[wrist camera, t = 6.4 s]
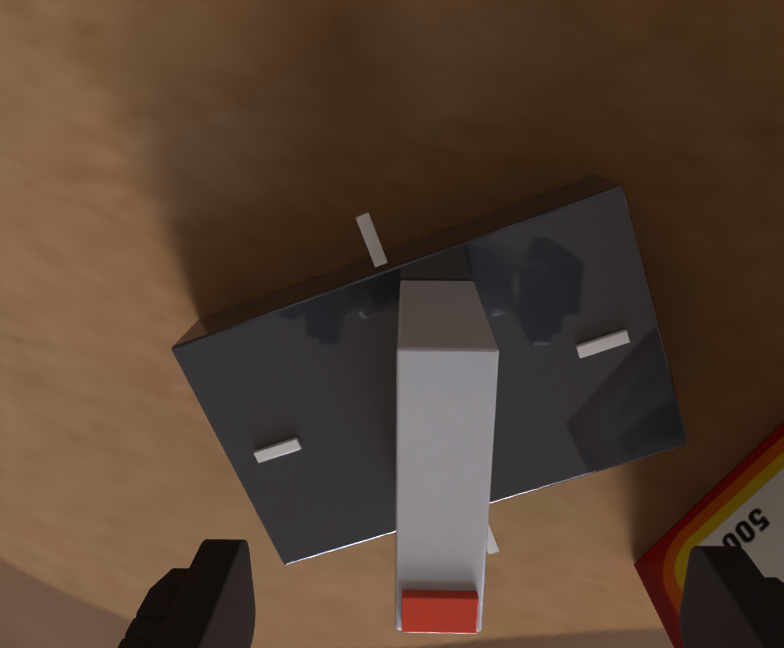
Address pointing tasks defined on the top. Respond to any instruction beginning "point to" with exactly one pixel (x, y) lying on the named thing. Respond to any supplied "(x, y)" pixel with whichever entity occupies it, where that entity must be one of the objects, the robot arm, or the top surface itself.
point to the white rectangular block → (443, 455)
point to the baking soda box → (723, 529)
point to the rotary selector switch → (378, 366)
